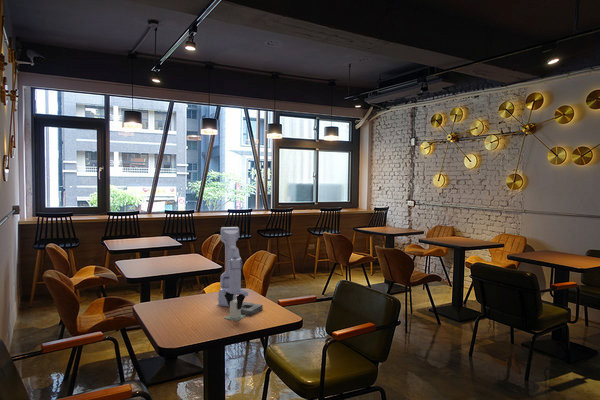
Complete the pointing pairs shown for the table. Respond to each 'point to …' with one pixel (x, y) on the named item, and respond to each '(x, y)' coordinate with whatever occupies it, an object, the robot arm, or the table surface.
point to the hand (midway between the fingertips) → (235, 308)
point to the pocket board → (250, 308)
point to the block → (234, 309)
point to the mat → (234, 318)
